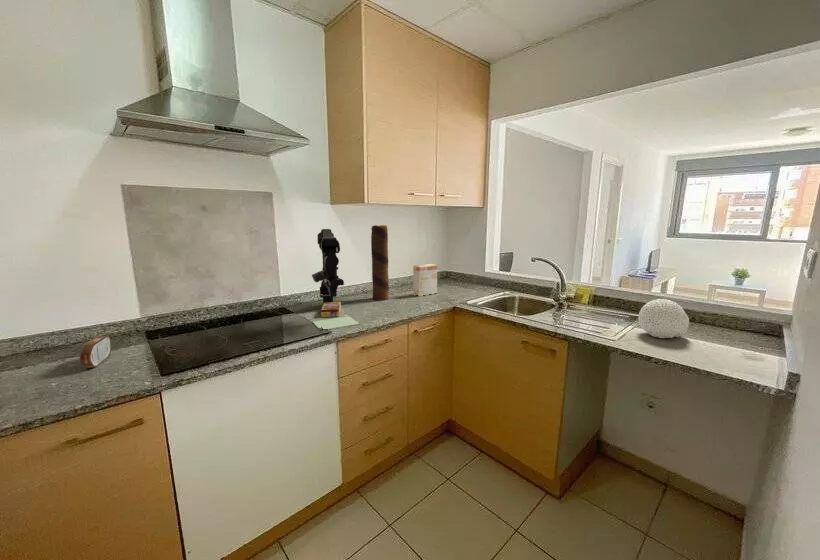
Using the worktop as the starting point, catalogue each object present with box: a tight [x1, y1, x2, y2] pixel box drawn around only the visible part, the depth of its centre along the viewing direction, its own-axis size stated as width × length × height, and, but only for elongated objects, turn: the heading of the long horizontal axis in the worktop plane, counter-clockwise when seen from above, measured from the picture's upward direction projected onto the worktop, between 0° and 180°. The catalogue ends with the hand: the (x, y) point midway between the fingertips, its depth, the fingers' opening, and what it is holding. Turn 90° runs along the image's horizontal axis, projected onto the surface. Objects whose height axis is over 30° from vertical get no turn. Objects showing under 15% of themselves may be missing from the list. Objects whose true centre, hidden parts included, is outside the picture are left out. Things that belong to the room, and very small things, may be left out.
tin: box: [79, 335, 112, 369], centre depth 109 cm, size 15×3×8 cm, turn 22°
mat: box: [312, 315, 360, 331], centre depth 153 cm, size 14×18×1 cm
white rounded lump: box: [637, 298, 690, 339], centre depth 137 cm, size 20×18×16 cm
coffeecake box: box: [412, 263, 438, 297], centre depth 213 cm, size 15×7×20 cm, turn 124°
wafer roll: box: [370, 224, 390, 301], centre depth 198 cm, size 10×11×45 cm
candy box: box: [320, 301, 342, 318], centre depth 170 cm, size 9×4×15 cm
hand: (331, 297), depth 155 cm, fingers closed
